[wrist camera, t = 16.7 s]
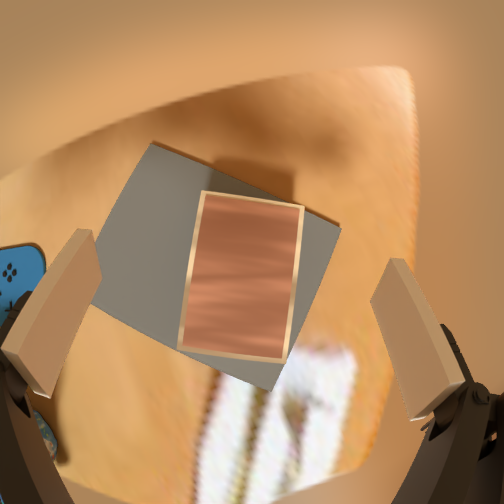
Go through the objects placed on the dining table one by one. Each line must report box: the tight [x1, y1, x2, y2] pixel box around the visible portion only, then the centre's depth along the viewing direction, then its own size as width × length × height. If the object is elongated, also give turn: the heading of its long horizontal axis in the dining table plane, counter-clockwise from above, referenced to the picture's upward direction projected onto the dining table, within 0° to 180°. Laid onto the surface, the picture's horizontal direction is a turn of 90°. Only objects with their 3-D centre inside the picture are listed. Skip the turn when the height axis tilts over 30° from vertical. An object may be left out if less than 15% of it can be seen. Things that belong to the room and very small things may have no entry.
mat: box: [91, 144, 341, 392], centre depth 26 cm, size 20×16×1 cm
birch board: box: [177, 190, 305, 364], centre depth 24 cm, size 4×8×12 cm
